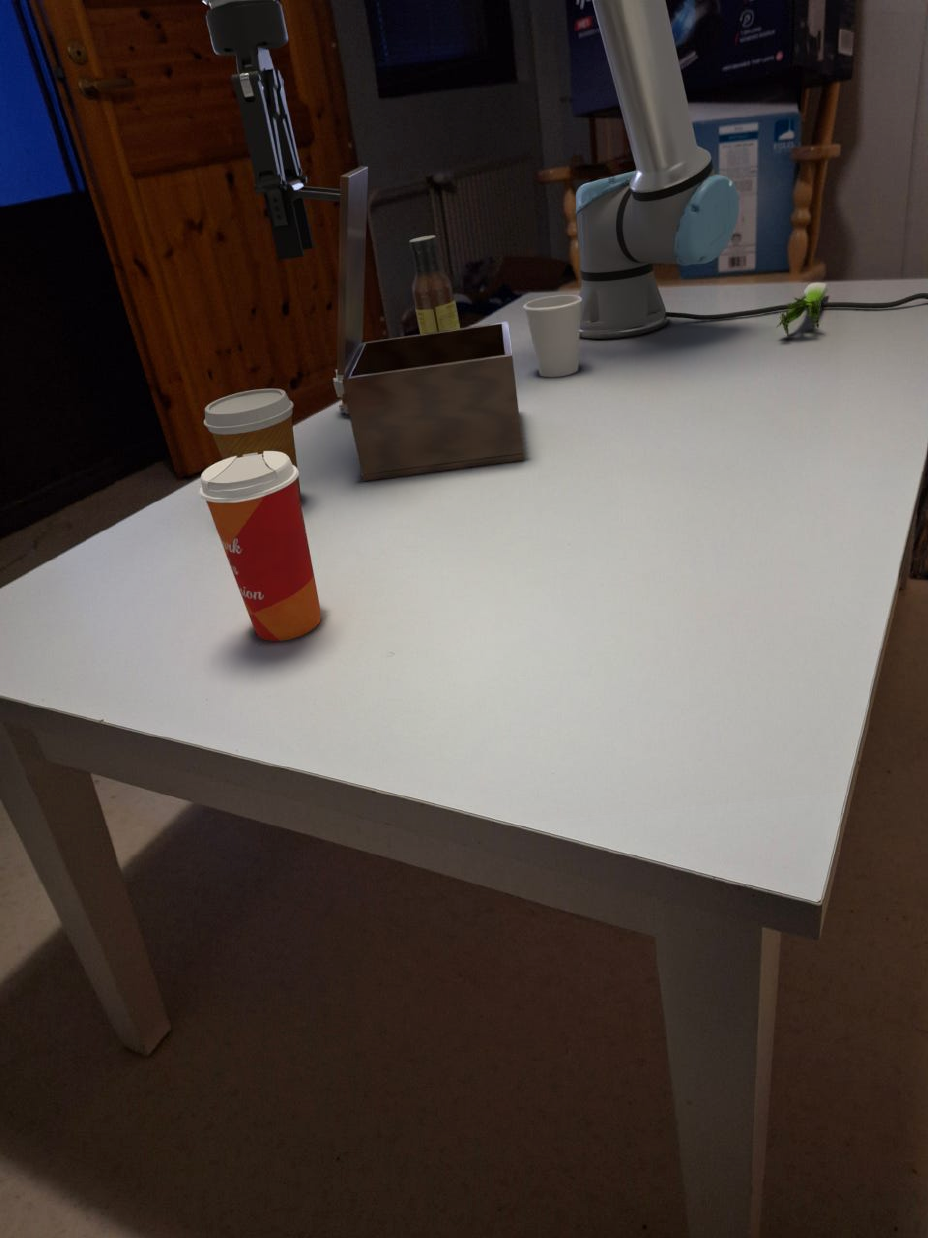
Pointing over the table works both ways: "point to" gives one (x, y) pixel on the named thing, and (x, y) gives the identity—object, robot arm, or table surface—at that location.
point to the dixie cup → (555, 333)
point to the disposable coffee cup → (253, 424)
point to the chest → (434, 402)
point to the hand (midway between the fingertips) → (296, 253)
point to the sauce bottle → (432, 289)
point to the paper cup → (265, 541)
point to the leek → (805, 305)
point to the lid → (346, 255)
